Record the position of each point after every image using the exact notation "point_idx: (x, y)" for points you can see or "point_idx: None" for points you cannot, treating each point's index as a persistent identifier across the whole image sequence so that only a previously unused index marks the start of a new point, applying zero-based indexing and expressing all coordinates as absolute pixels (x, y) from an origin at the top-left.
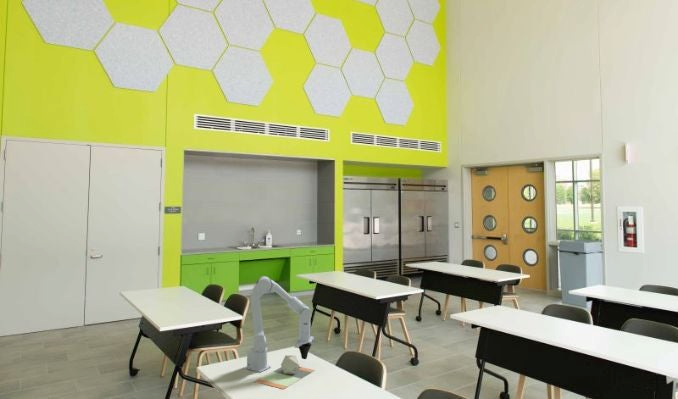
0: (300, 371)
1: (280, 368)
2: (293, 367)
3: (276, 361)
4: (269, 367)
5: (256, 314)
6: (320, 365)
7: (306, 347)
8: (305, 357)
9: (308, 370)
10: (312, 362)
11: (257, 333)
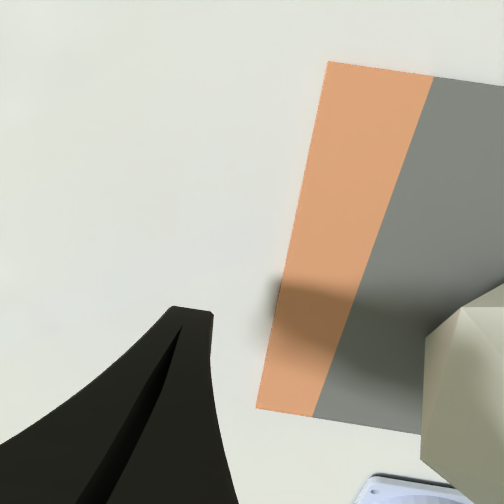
0: (436, 237)
1: (388, 421)
2: None
3: (237, 472)
4: (392, 480)
5: None
6: (89, 66)
7: None
8: (209, 328)
9: (374, 150)
10: (72, 224)
11: None
